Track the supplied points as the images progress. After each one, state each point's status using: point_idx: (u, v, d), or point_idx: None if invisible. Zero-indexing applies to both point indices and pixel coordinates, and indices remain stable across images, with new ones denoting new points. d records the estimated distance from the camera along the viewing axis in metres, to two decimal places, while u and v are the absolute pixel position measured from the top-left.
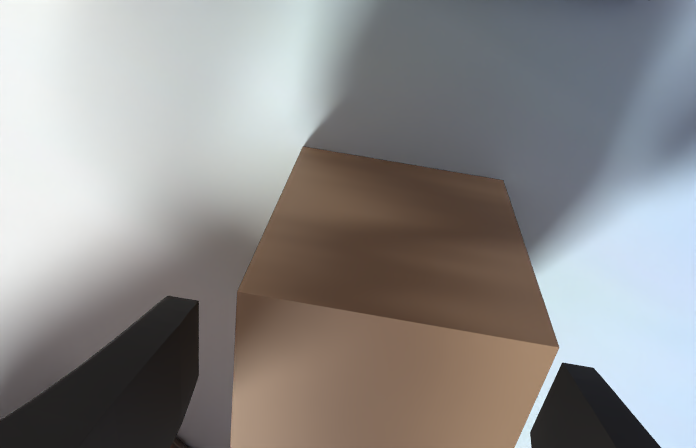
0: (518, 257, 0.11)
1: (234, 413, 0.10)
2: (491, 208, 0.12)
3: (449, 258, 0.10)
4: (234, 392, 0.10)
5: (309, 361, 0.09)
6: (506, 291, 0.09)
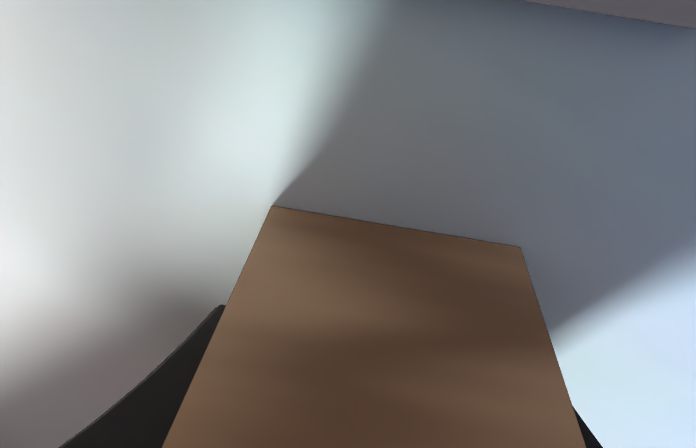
0: (548, 378, 0.08)
1: None
2: (509, 294, 0.09)
3: (457, 386, 0.07)
4: None
5: None
6: (537, 444, 0.07)
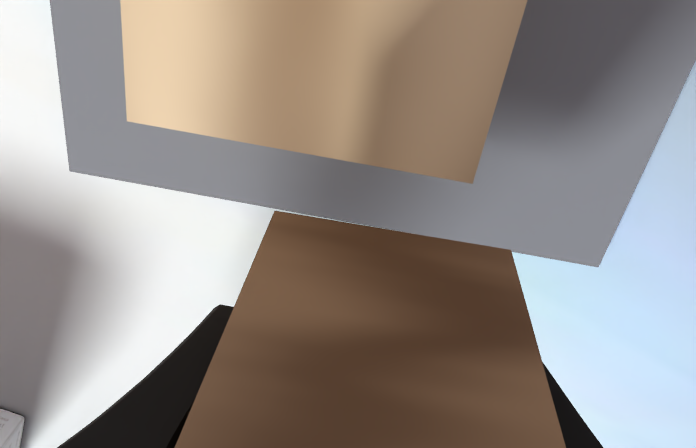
0: (532, 376, 0.08)
1: None
2: (498, 296, 0.10)
3: (447, 384, 0.08)
4: None
5: None
6: (519, 437, 0.07)
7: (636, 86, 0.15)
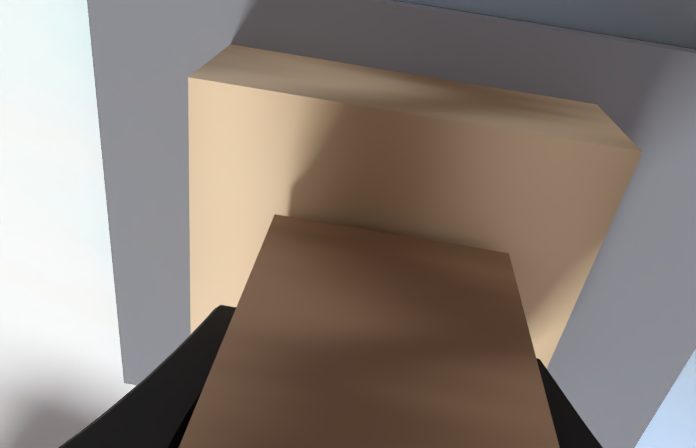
0: (528, 381, 0.09)
1: None
2: (495, 300, 0.10)
3: (444, 389, 0.08)
4: None
5: None
6: (515, 443, 0.08)
7: (658, 336, 0.17)
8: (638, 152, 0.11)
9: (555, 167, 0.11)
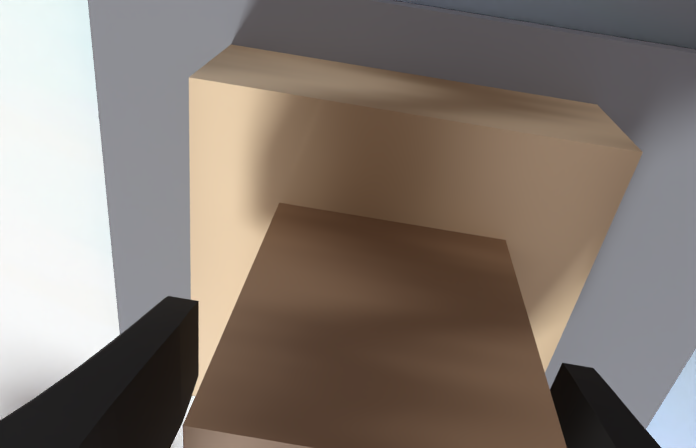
0: (525, 352, 0.09)
1: None
2: (493, 282, 0.11)
3: (445, 358, 0.09)
4: None
5: None
6: (513, 406, 0.08)
7: (658, 336, 0.17)
8: (639, 152, 0.11)
9: (555, 167, 0.11)
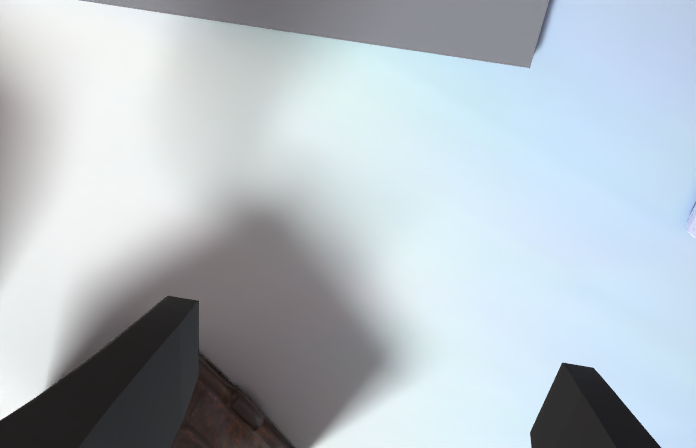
0: None
1: None
2: None
3: None
4: None
5: None
6: None
7: None
8: None
9: None
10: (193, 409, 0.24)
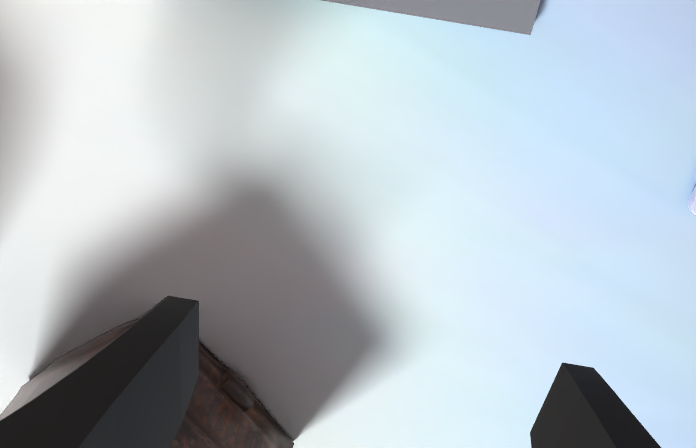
0: None
1: None
2: None
3: None
4: None
5: None
6: None
7: None
8: None
9: None
10: None
